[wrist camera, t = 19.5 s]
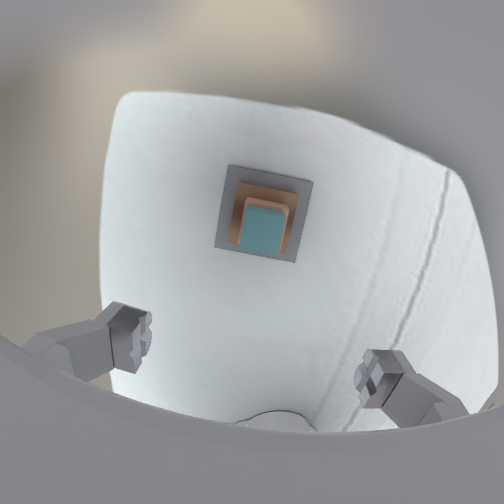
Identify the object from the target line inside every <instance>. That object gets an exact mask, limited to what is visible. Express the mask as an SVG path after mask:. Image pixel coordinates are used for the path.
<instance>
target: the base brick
mask: <svg viewBox="0 0 504 504" xmlns="http://www.w3.org/2000/svg"><path fill="white" fill-rule="evenodd" d="M247 197H252V198H257V199H262V200H267V201H272V202H277V203H282V204H286V205H287V207H288V208H289V214H288V219H287V223H286V228H285V232H284V237H283V241H282V245H281V250H280V252H282V253H286V252H287V247H288V243H289V239H290V234H291V230H292V226H293V221H294V217H295V212H296V208H297V203H298V198H299V194H297V193H294V192H289V191H284V190H280V189H275V188H270V187H265V186H260V185H255V184H249V183H244V182H238V186H237V191H236V197H235V202H234V208H233V213H232V219H231V224H230V230H229V236H228V242H231V243H236V244H237V242H238V237H239V232H240V226H241V221H242V215H243V210H244V205H245V200H246V199H247Z"/></svg>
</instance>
